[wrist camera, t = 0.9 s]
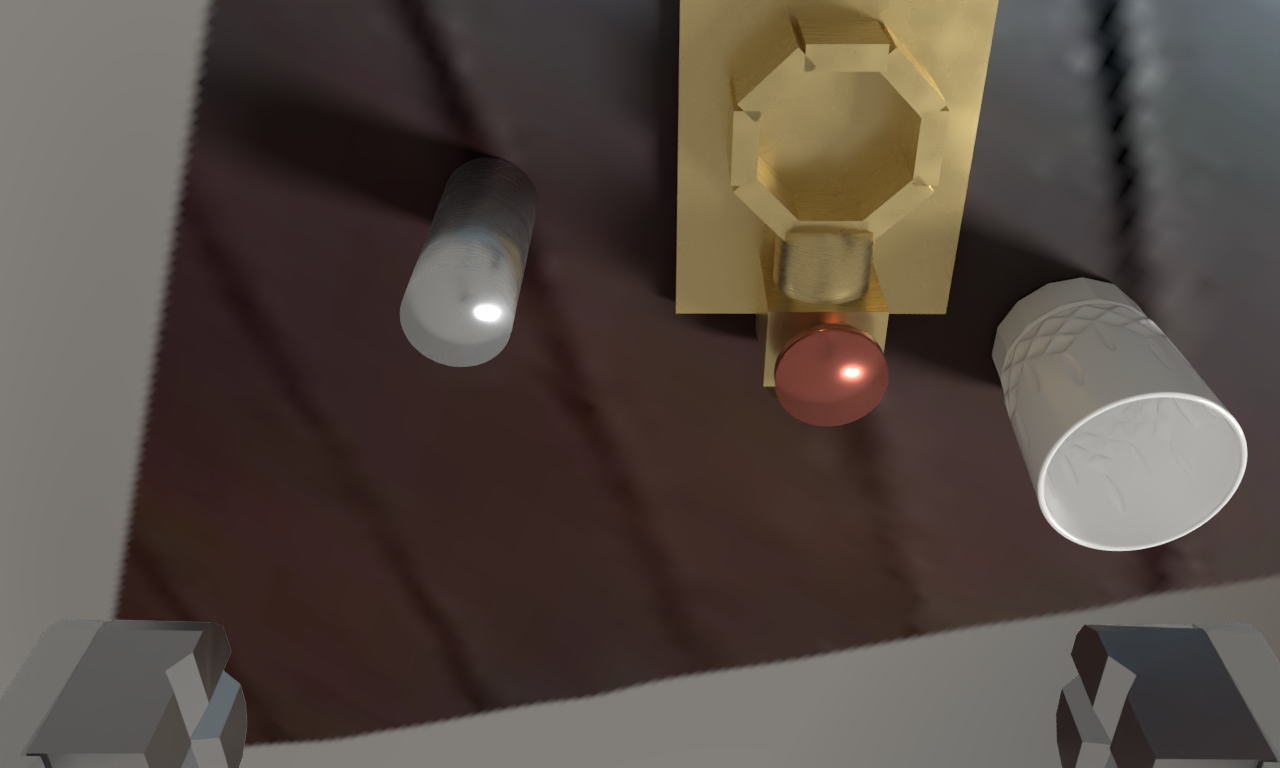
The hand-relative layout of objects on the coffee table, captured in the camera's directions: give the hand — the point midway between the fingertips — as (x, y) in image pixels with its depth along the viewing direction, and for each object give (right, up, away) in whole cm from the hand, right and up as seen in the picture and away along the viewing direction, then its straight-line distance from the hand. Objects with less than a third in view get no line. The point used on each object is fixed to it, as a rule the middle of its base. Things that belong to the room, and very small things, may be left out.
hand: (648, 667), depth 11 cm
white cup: (+20, +5, +42) cm, 46 cm away
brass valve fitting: (+8, +12, +37) cm, 39 cm away
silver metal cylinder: (-7, +11, +38) cm, 40 cm away
